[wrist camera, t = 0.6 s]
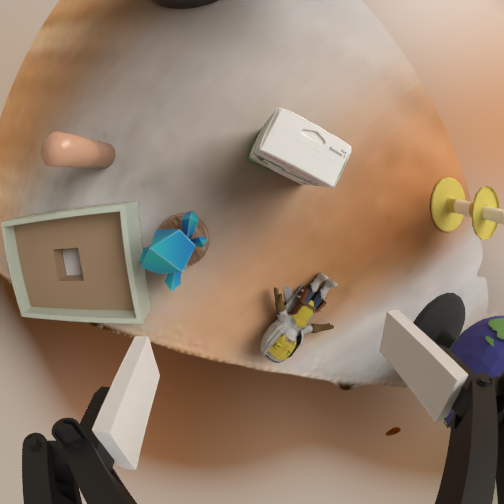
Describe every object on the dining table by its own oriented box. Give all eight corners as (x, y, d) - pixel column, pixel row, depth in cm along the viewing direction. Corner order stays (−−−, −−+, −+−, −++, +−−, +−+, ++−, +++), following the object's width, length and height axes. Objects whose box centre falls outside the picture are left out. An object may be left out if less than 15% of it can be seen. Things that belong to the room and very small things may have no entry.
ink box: (246, 159, 35) (254, 149, 24) (261, 126, 34) (276, 103, 23) (303, 186, 37) (336, 190, 25) (318, 155, 36) (355, 146, 24)
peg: (93, 145, 32) (41, 136, 20) (115, 141, 33) (67, 127, 20) (94, 169, 33) (41, 169, 21) (115, 166, 33) (67, 163, 21)
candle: (439, 242, 41) (558, 295, 15) (423, 191, 38) (562, 220, 12) (468, 215, 40) (579, 251, 14) (455, 168, 38) (578, 183, 12)
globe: (477, 272, 44) (577, 328, 15) (457, 355, 50) (528, 423, 21) (403, 293, 43) (526, 391, 14) (387, 385, 48) (455, 485, 19)
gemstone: (143, 238, 36) (110, 263, 25) (191, 200, 36) (174, 210, 24) (175, 278, 38) (156, 318, 27) (223, 243, 38) (222, 272, 26)
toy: (362, 303, 38) (302, 380, 39) (346, 292, 43) (291, 363, 44) (304, 258, 35) (237, 348, 36) (292, 251, 40) (233, 331, 41)
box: (18, 217, 33) (0, 222, 28) (137, 200, 35) (125, 204, 30) (36, 304, 37) (21, 316, 32) (151, 307, 39) (142, 323, 34)
